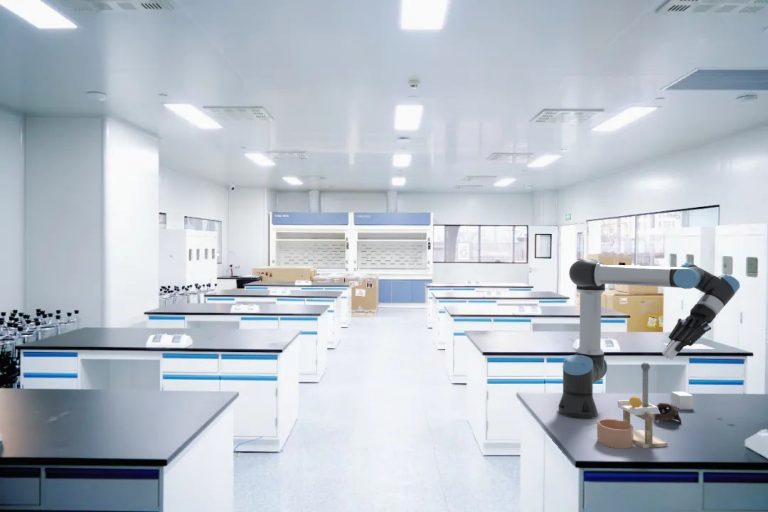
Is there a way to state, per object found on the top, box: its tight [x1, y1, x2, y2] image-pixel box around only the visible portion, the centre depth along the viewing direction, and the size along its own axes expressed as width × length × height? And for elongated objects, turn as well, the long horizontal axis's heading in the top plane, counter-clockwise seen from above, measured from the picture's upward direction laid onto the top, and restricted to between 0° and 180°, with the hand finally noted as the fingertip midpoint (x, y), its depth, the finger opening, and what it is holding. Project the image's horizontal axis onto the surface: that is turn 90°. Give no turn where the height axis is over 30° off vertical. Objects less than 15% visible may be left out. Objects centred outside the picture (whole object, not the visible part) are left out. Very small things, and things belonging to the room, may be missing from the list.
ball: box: [628, 396, 642, 408], centre depth 172 cm, size 4×4×4 cm
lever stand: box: [622, 409, 668, 449], centre depth 172 cm, size 10×12×12 cm
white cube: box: [670, 391, 694, 410], centre depth 210 cm, size 6×6×6 cm
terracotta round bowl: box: [596, 418, 634, 450], centre depth 170 cm, size 11×11×6 cm
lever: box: [617, 362, 659, 422], centre depth 172 cm, size 9×9×20 cm
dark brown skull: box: [654, 402, 682, 424], centre depth 193 cm, size 12×10×8 cm
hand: (666, 356), depth 174 cm, fingers closed
